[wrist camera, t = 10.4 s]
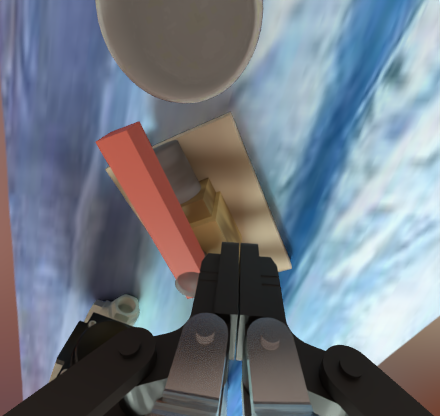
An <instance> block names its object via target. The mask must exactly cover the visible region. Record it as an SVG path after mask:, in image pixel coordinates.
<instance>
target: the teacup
mask: <svg viewBox="0 0 440 416" xmlns="http://www.w3.org/2000/svg"><path fill="white" fill-rule="evenodd" d="M95 1H96V9H97V16H98V22H99V25H100V29H101V32H102V35H103V38H104V40H105V43H106V45H107V47H108V49H109V51H110V53H111V55H112V57H113V58H114V60H115V61H116V63H117V64H118V66H119V67H120V68H121V70H122V71H123V72H124V73H125V74H126V75H127V76H128V77H129V79H130V80H131V81H132V82H134V83H135V84H136V85H137V86H138V87H140V88H141V89H143V90H144V91H145V92H147V93H149V94H151V95H152V96H154V97H157V98H160V99H162V100H166V101H169V102H177V103H196V102H201V101H205V100H207V99H210V98H212V97H215V96H217V95H219V94H220V93H222V92H224V91H225V90H226V89H228V88H229V87H230V86H231V85H232V84H233V83H234V82H235V81H236V80H237V79H238V78H239V76H240V75H241V74H242V72H243V71H244V70H245V68H246V66H247V65H248V63H249V61H250V59H251V57H252V55H253V53H254V51H255V48H256V45H257V42H258V39H259V35H260V31H261V25H262V17H263V0H95Z"/></svg>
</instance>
